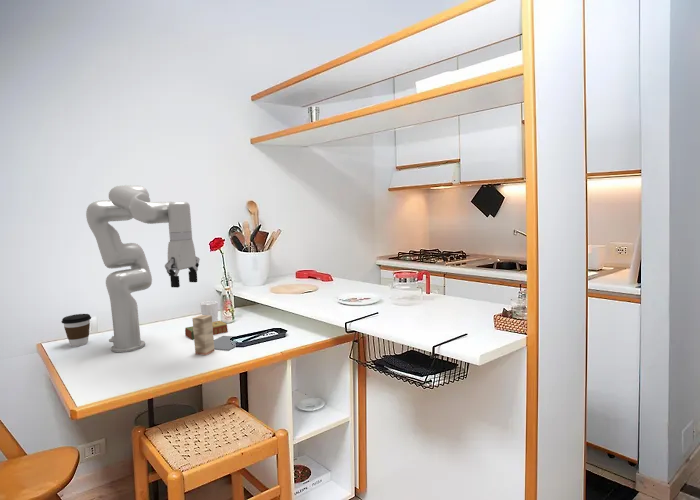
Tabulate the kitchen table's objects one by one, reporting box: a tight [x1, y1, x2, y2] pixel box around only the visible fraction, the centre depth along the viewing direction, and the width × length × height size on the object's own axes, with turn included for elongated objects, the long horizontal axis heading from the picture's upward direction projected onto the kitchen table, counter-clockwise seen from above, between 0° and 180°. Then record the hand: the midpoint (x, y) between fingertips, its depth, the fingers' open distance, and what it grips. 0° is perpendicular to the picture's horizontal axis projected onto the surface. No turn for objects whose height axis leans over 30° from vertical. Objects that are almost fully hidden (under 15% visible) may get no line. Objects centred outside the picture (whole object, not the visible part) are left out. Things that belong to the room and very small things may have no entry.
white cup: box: [199, 300, 219, 322], centre depth 225 cm, size 8×8×10 cm
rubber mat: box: [214, 335, 236, 352], centre depth 192 cm, size 14×16×1 cm
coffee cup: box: [60, 313, 92, 347], centre depth 199 cm, size 11×11×12 cm
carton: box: [184, 320, 229, 341], centre depth 207 cm, size 8×16×4 cm, turn 127°
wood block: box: [191, 314, 216, 356], centre depth 180 cm, size 5×5×14 cm
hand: (184, 284), depth 169 cm, fingers open, 9 cm apart
